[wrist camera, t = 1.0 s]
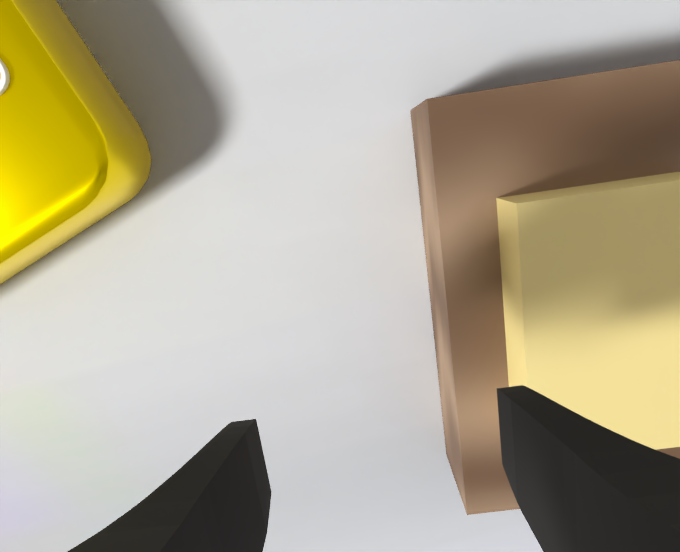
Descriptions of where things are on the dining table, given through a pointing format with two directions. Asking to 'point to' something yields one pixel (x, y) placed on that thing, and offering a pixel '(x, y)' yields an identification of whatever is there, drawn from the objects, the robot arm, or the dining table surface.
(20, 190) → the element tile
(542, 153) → the plate
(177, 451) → the dining table surface
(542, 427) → the robot arm
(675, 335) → the yellow block
